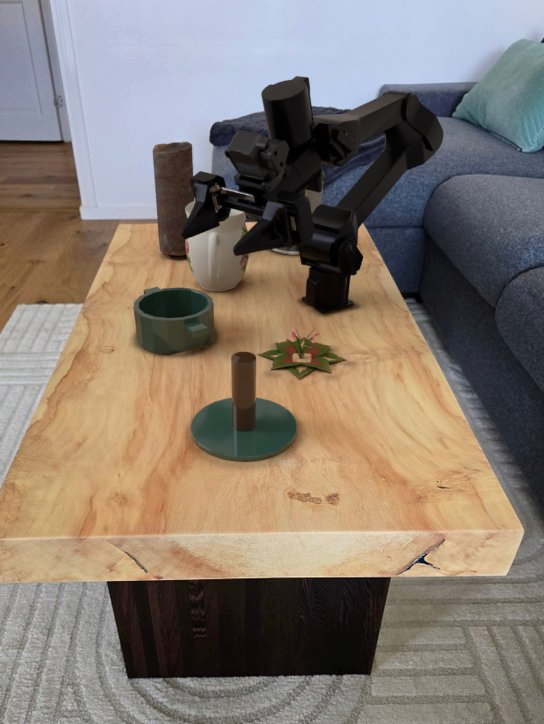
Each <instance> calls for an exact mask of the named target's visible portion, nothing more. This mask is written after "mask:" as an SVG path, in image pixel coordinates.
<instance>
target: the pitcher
mask: <svg viewBox="0 0 544 724" xmlns="http://www.w3.org/2000/svg"><path fill="white" fill-rule="evenodd" d="M194 204H195V200H194V201H193V202H191V203H189V204H188V205H187V206H186V208H185V210H186V214H187V218H188V217H189V215H190V213H191V211H192V209H193V207H194ZM246 220H247V218H246V215H245V212H242V211H238V210H235V209H231V212H230V215H229V217H228V218H227V219H226V220H225V221H222V222H219V224H220V226H218V227H216V228H213V229H211V230H208V231H206V232H204V233H201V234H199V235H196V236H194V237H191V238H188V239H186V240H185V246H186V255H185V256H186V260H187V263H188V267H189V269H190V272H191V274H192V276H193V278H194V279H195V281H196V282H197V283H198V284H199V286H200V287H201V289H203V290H207V291H211V292H226V291H229V290H232V289H234V288H236V287H237V286H238V284H239V283H240V281H241V280H242V278H243V276H244V274H245V272H246V269H247V265H248V263H249V259H250V258H249V257H250V254H245V255H240V256H235V255H234V252H233V247H234V246H235V245H236V244H237V242H238V241H239V240H240V239H241V238H242V237H243V236H244V235H245V234H246V233H247V232H248V231H249V229H248V227H247V224H246Z"/></svg>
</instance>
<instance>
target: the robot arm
mask: <svg viewBox="0 0 544 724" xmlns="http://www.w3.org/2000/svg"><path fill="white" fill-rule="evenodd" d="M260 95H261V96H260V97H261V101H262V102H261V103H262V107H263V111H264V116H265V121H266V122H265V123H266V126H267V132H268V136H264V135H262V134H261V133H258V132H254V131H247V130H241V129H240V130H237V131H236V133H235V134H234V136H233V137H232V139H231V141H230V142H229V144H228V145H227V147H226V148H225V149H224V155H225V157H226V158H227V159H229V161H230V162H231V164H232V166H233V168H234V169H235V171H236V172H237V173H236V174H234V175H233V180H234V185H235V186H237V187H238V189H233V188H229V187H227V184H226V180H225V177H223V176H221V175H218V174H216V173H211V172H206V171H202V170H200V171H198V172H197V173H195V174H193V177H192V178H191V179H190V181H189V182H190V185H191V188H192V192H193V195H194V201H195V204H194V207H193V209H192V211H191V213H190V215H189V217H188V219H187V221H186V223H185V224H184V226H183V228H182V230H181V235H182V238H183V239H188V238H191V237H194V236H196V235H199V234H201V233H204V232H206V231H208V230H211V229H213V228H216V227H218V226H220V224H219V222H222V221H225V220H226V219H227V218H228V217H229V215H230V212H231V209H235V210H238V211H242V212H245V215H246V220H251V221H254V222H255V224H254V225H253V226H251V228H250V229H248V232H247V233H246V234H245V235H244V236H243V237H242V238H241V239H240V240H239V241H238V242H237V244H236V245H235V246H234V247H233V252H234V255H235V256H240V255H245V254H249V255H250V254H254V253H258V252H264V251H269V250H271V249H277V248H283V247H289V248H291V247H293V246H294V245H295V246H298V251H299V255H298V256H299V261H300V263H301V265H302V266H307V267H308V277H306V281H305V296H302V297H301V302H303V303H304V304H306V305H307V306H309V307H311V308H313V309H315V310H316V311H317V312H319V313H321V314H328V313H332V312H335V311H339V310H340V311H341V310H344V309H347V308H351V307H353V306H355V302H354V301H353V300H351V299H350V298H349V296H350V289H351V288H350V286H351V277H352V276H356V275H357V274H358V271H360V270H361V267H362V265H363V261H364V255H363V253H362V251H361V250H360V248H358V243H359V229H360V227H361V226H362V225H363V224H364V222H365V221H366V220H367V219H368V217H370V216H371V214H372V213H373V212H374V210H375V209H376V208H377V207H378V206H379V204H380V203H381V202H382V201H383V200H384V199H385V197H386V196H387V195H388V194H389V192H390V191H391V190H392V189H393V188H394V186H395V185H396V184H397V183H398V181H399V180H400V179H401V178H402V177H403V176H404V174H405V173H406V172H407V171H409V170H412V169H415V168H418V167H419V166H422V165H424V164H426V163H427V162H428V161H429V160H430V159H431V158H432V157H434V155H435V154H436V153H437V151H439V150H440V148H441V146H442V144H443V141H444V135H445V134H444V129H443V127H442V125H441V122H440V120H439V118H438V116H437V115H436V114H435V113H433V111H431V110H430V109H428V108H427V106H425V105H423V103H421V101H420V99H419V97H418V96H417V94H414V92H411V91H403V90H402V91H401V90H393V89H390V90H387V91H385V92H384V93H382V95H381V96H378V97H376V98H375V99H372V100H370V101H368V102H365V103H364V104H361V105H359V106H357V107H355V108H353V109H350V110H348V111H346V112H344V113H339V114H338V113H337V114H335V113H334V114H331V113H330V114H317V115H314V113H313V104H312V98H311V82H310V78H309V77H308V76H300V75H296V76H294V77H292V79H287V80H286V79H285V80H282V81H278V82H276V83H273V84H268V85H266V86H265V87H264V88H263V89H262V91H261V94H260ZM381 134H383V136H384V148H383V150H382V151H381V152H380V154H379V155H378V156H377V157H376V158H375V159H374V161H373V162H372V163H371V164H370V165H369V166H368V167H367V169H366V170H365V171H364V173H363V174H362V175H361V176H360V177H359V178H358V180H357V181H356V182H355V183H354V184H353V185H352V187H350V189H349V190H348V191H347V192H346V193H345V195H344V196H343V197H342V198H341V199H340V201H339V202H338V203H337V204H336V205H335V206H332V205H328V204H323V203H322V204H320V205H319V206H317V207H316V209H315V210H314V212H313V213H312V212H311V206H310V201H309V198H308V197H306V196H304V195H302V194H299V193H300V192H302V191H303V190H304V189H305V190H310V191H314V192H319V193H320V192H321V190H322V186H323V187H324V181H323V182H322V177H323V173H322V171H323V166H322V165H328V166H331V167H332V166H333V167H338V168H340V167H344V166H345V165H347V163H349V162H350V161H351V160H352V159H353V158H354V157H356V156H357V155H358V154H359V151H360V150H359V148H360V146H361V145H362V144H363V143H365V142H367V141H369V140H371V139H373V138H375V137H377V136H379V135H381Z"/></svg>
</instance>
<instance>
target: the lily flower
mask: <svg viewBox="0 0 544 724" xmlns="http://www.w3.org/2000/svg"><path fill="white" fill-rule="evenodd" d="M315 330H316V328H315V327H314V328H313V329H312V330H311V332H310V333H309V334H308V336H307V337H305V336H303V337H300V334H299V331H298V329H297V328H295V332H296V333H297V334H296V333H295V332H294V331H291V337H292V338H293V339H294V341H293V340H290V339H288V338H286V340H285V341H280V342H275V345H276V347H277V349H274V348H273V349H269V350H266V351H263V352H262V353H257V355H258V356H262V357H265V358H268V359H270V360H273V361H272V364H271V366H272V367H271V368H270V369H269V371H272V370H276V369H281V368H285V367H287V369H288V370H289V371H290V372H291V373H292V374H293V375H294V376H296V377H297V379H298V380H301V379H302V378H303V377H305V375H308V374H309V373H310V372H312V371H313V370H314V368H316V369H319V370H322V371H324V372H327V373H328V374H332V372H331V367H330V364H332V363H336V362H342V361H347V359H346V358H344V357H342V356H339V355H338V354H336V353H333V352H328V351H329V349H330V348H331V347H332V345H328V344H322V343H321V342H316V341H315V342H313V340H315V338H314V337H317V336H320V333H316V334H314V335H313V336H311V337H310V335H311V334H312V333H313V332H314V331H315ZM309 337H310V338H309ZM294 354H297V355H298V358H299V359H304V357H305V354H306V355H310V362H309V361H306V362H305V361H303V362H302V361H294V360H293V357H294ZM298 365H304V366H307V367H305V369H302V370H301V371H300V370H299V369H298V368H297V367H296V366H298Z"/></svg>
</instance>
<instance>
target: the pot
mask: <svg viewBox="0 0 544 724" xmlns="http://www.w3.org/2000/svg"><path fill="white" fill-rule="evenodd" d="M214 305H215V304H214V301H213V298H212V297H211V296H210V295H209V294H207V293H206V292H204V291H201V290H199V289H195V288H189V287H181V286H179V287H163V288H160V287H158V286H154V287H150V288H144V289H143V294H142V295H139V296H138V297H137V298H136V299H135V301H134V302H133V315H134V323H135V324H134V325H135V334H136V340H137V343H138V345H139V346H140V347H141V348H142V349H144V350H145V351H148V352H150V353H152V354H157V355H162V356H173V355H176V354H180V353H183V352H188V351H193V350H197V349H200V348H202V347H205V346H209V345H211V344H212V343H213V342H214V339H215V307H214Z"/></svg>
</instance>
